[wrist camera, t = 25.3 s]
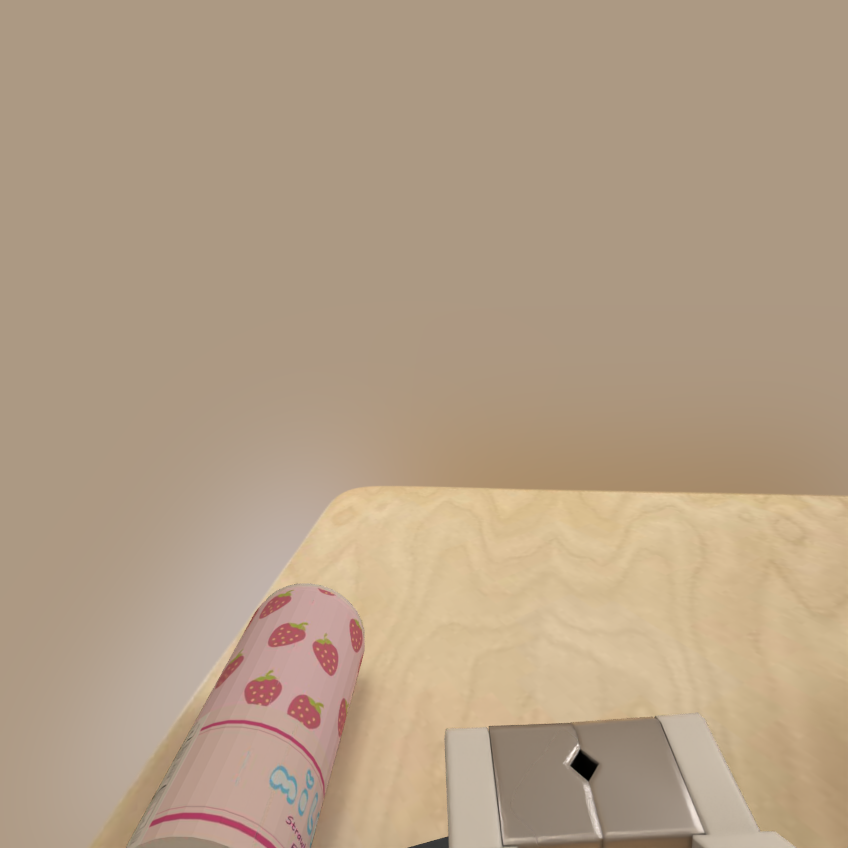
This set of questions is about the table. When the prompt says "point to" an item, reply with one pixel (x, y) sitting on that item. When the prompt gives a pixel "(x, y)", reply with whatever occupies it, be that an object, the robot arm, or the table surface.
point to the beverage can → (264, 731)
